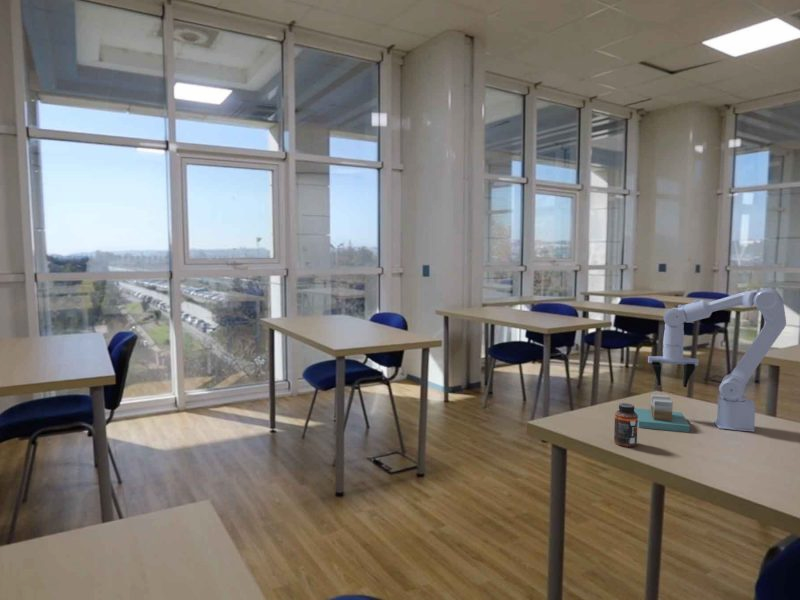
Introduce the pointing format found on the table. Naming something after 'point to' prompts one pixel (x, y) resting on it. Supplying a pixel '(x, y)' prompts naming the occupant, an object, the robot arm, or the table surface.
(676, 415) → the teal stand
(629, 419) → the supplement bottle
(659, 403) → the block
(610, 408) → the table surface
